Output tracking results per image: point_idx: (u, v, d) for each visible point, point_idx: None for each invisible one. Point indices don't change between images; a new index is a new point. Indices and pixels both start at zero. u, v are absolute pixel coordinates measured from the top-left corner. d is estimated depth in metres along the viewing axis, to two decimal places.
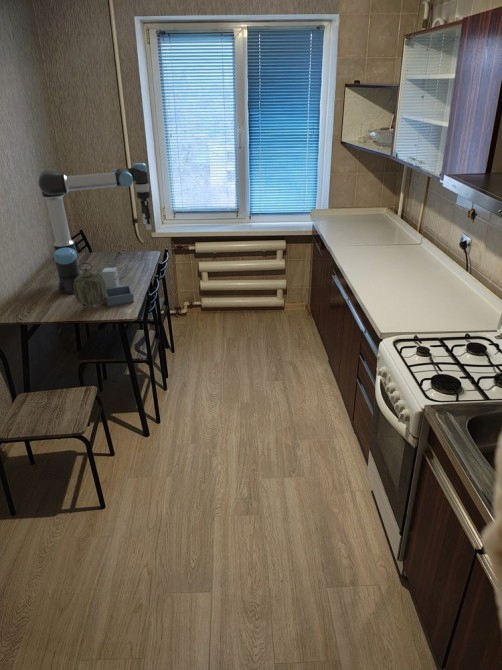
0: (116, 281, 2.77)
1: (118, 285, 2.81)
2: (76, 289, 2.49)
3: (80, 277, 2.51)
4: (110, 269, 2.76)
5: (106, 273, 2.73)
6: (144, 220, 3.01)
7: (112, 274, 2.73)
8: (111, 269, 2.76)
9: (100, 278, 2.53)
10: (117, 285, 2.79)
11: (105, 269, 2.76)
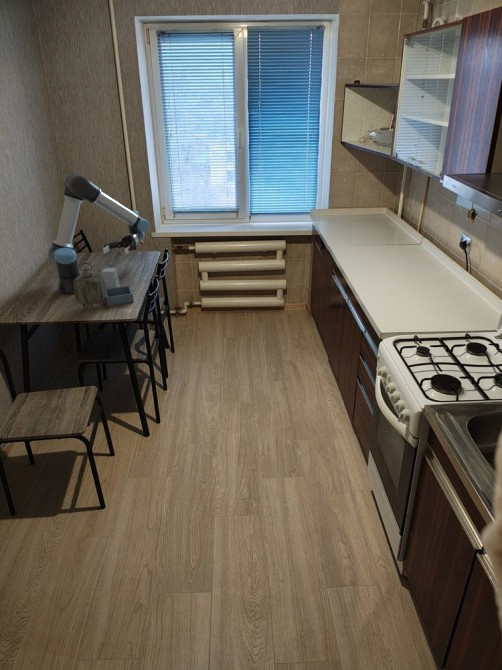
0: (116, 281, 2.77)
1: (118, 285, 2.81)
2: (76, 289, 2.49)
3: (80, 277, 2.51)
4: (110, 269, 2.76)
5: (106, 273, 2.73)
6: (105, 248, 2.84)
7: (112, 274, 2.73)
8: (111, 269, 2.76)
9: (100, 278, 2.53)
10: (117, 285, 2.79)
11: (105, 269, 2.76)
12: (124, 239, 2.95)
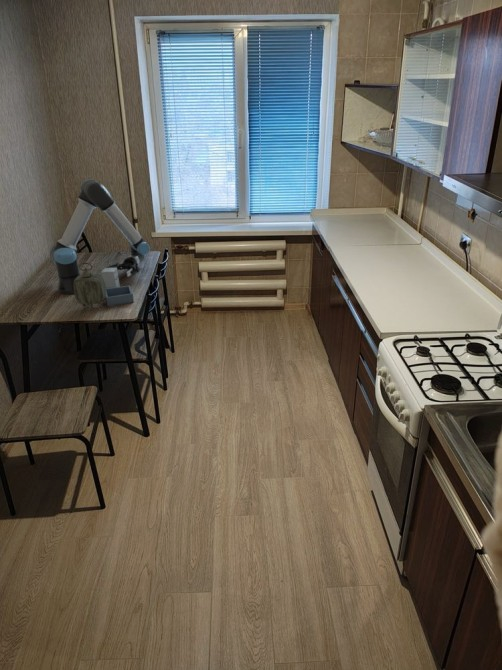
0: (116, 281, 2.77)
1: (118, 285, 2.81)
2: (76, 289, 2.49)
3: (80, 277, 2.51)
4: (110, 269, 2.76)
5: (106, 273, 2.73)
6: None
7: (112, 274, 2.73)
8: (111, 269, 2.76)
9: (100, 278, 2.53)
10: (117, 285, 2.79)
11: (105, 269, 2.76)
12: (126, 261, 2.98)
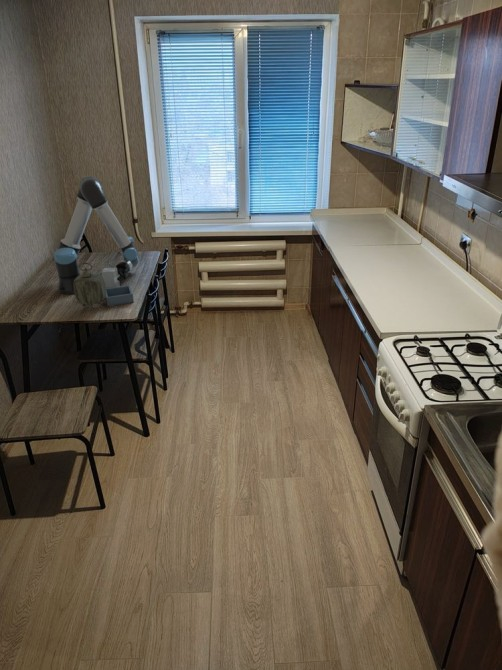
0: None
1: (118, 285, 2.81)
2: (76, 289, 2.49)
3: (80, 277, 2.51)
4: (110, 269, 2.76)
5: (106, 273, 2.73)
6: None
7: (112, 274, 2.73)
8: (111, 269, 2.76)
9: (100, 278, 2.53)
10: (117, 285, 2.79)
11: (105, 269, 2.76)
12: (118, 266, 2.90)
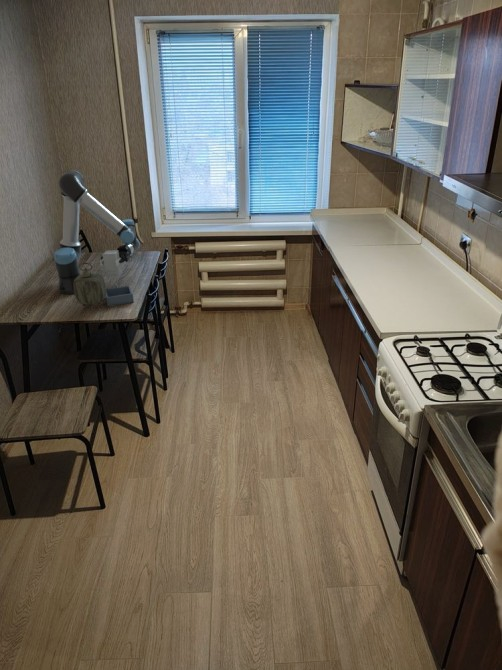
0: None
1: (120, 268, 2.72)
2: (76, 289, 2.49)
3: (80, 277, 2.51)
4: (111, 251, 2.67)
5: (107, 255, 2.64)
6: None
7: (114, 256, 2.64)
8: (112, 251, 2.67)
9: (100, 278, 2.53)
10: (119, 268, 2.70)
11: (106, 251, 2.67)
12: (119, 249, 2.81)
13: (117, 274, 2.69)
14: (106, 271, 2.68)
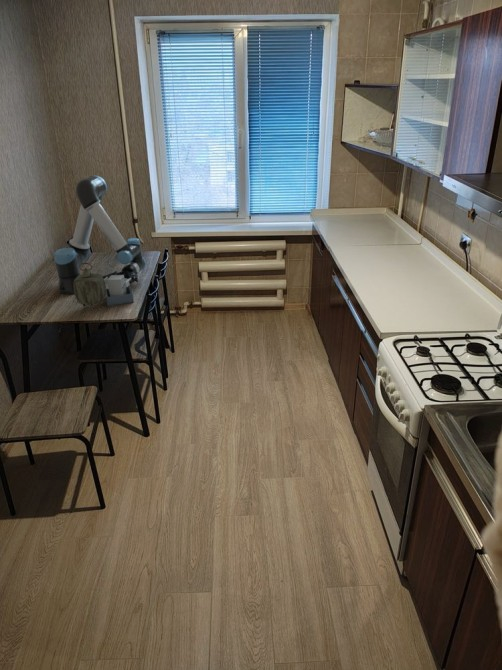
0: (123, 289, 2.63)
1: (125, 293, 2.67)
2: (76, 289, 2.49)
3: (80, 277, 2.51)
4: (117, 276, 2.63)
5: (112, 281, 2.59)
6: (104, 280, 2.64)
7: (119, 282, 2.60)
8: (118, 277, 2.62)
9: (100, 278, 2.53)
10: (124, 293, 2.65)
11: (111, 276, 2.63)
12: (124, 269, 2.75)
13: None
14: (111, 296, 2.64)
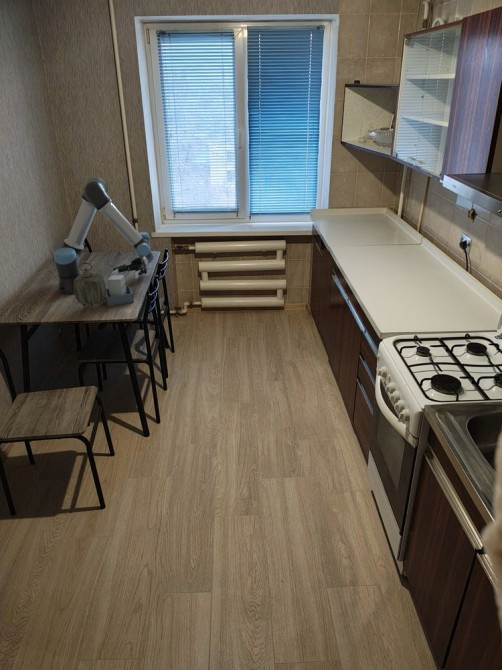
0: (123, 289, 2.63)
1: (125, 293, 2.67)
2: (76, 289, 2.49)
3: (80, 277, 2.51)
4: (117, 276, 2.63)
5: (112, 281, 2.59)
6: (115, 272, 2.75)
7: (119, 282, 2.60)
8: (118, 277, 2.62)
9: (100, 278, 2.53)
10: (124, 293, 2.65)
11: (111, 276, 2.63)
12: (134, 262, 2.86)
13: None
14: (111, 296, 2.64)
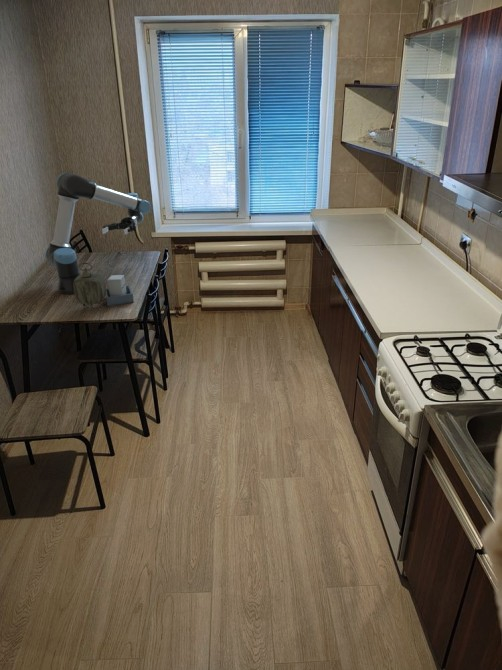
0: (123, 289, 2.63)
1: (125, 293, 2.67)
2: (76, 289, 2.49)
3: (80, 277, 2.51)
4: (117, 276, 2.63)
5: (112, 281, 2.59)
6: (105, 229, 2.84)
7: (119, 282, 2.60)
8: (118, 277, 2.62)
9: (100, 278, 2.53)
10: (124, 293, 2.65)
11: (111, 276, 2.63)
12: (123, 221, 2.95)
13: None
14: (111, 296, 2.64)
